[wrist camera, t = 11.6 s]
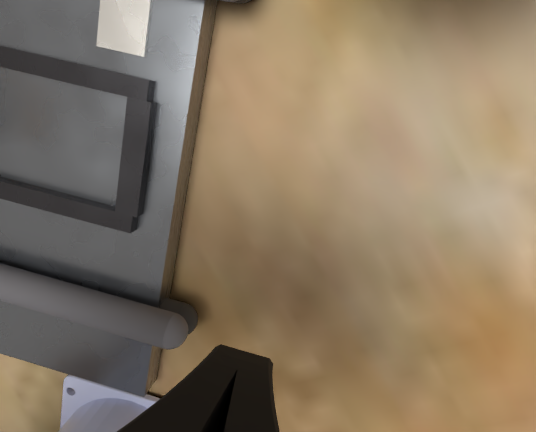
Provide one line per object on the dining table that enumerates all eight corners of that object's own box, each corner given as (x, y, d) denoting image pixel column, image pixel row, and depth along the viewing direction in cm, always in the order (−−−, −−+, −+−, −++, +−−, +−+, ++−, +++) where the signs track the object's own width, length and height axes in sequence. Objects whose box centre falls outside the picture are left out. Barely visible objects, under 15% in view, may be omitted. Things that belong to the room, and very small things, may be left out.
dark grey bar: (199, 328, 20) (176, 366, 17) (-137, 233, 22) (-209, 252, 19) (205, 296, 20) (183, 329, 17) (-140, 200, 21) (-215, 215, 18)
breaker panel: (156, 377, 21) (138, 405, 19) (-104, 299, 23) (-146, 318, 21) (242, -155, 15) (228, -197, 13) (-139, -221, 16) (-207, -268, 14)
